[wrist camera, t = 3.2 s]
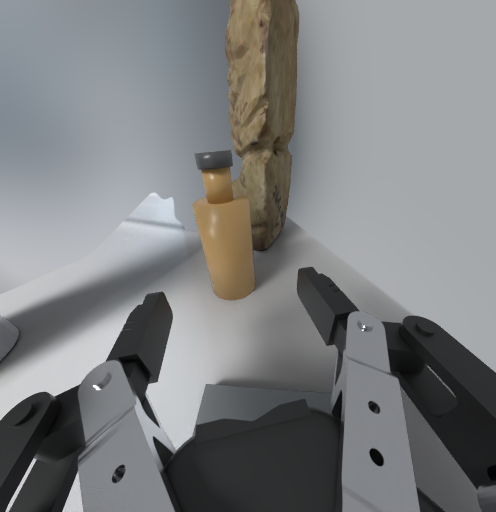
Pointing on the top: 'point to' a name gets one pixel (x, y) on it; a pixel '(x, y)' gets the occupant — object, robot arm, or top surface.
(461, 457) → the robot arm
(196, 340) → the top surface
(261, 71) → the sculpture
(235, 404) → the mat
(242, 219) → the bottle
